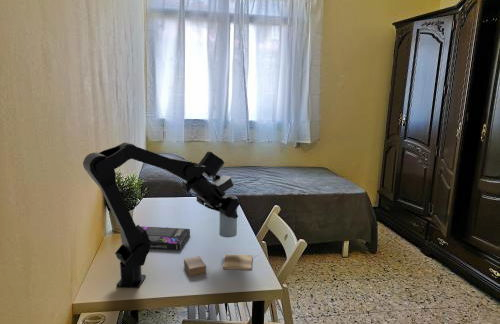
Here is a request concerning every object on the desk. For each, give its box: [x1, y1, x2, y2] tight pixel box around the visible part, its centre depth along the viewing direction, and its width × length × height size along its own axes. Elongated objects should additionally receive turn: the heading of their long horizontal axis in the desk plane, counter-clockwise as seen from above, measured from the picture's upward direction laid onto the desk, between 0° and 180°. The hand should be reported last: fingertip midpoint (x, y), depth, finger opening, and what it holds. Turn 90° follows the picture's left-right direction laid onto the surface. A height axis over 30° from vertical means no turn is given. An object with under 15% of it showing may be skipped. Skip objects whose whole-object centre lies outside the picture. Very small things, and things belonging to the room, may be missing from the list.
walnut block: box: [183, 256, 207, 278], centre depth 111 cm, size 7×5×3 cm
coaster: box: [222, 254, 253, 271], centre depth 116 cm, size 9×9×1 cm
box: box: [141, 226, 191, 251], centre depth 132 cm, size 14×4×20 cm
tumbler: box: [218, 194, 238, 238], centre depth 122 cm, size 6×6×13 cm
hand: (231, 215), depth 123 cm, fingers closed on tumbler, 6 cm apart
